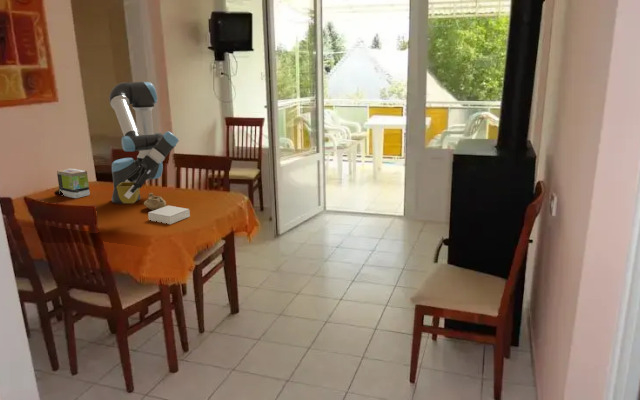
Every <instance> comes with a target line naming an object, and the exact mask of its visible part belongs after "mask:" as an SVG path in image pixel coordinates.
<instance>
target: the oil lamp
mask: <svg viewBox="0 0 640 400" xmlns="http://www.w3.org/2000/svg"><path fill="white" fill-rule="evenodd" d="M143 205H144V206H145V207H146V208H147V209H149V210H151V211H154V210H157V209H160V208H162V207H165V206H167V202H166V200H165V199H164V198H162V196H159V195H154V193H153V192H150V193H148V197H147V199H146V200H145V201H144V202H143Z"/></svg>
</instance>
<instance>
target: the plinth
mask: <svg viewBox="0 0 640 400" xmlns="http://www.w3.org/2000/svg"><path fill="white" fill-rule="evenodd" d="M190 212H191V211H190V208H185V207H178V206H175V205H174V206H173V205H166V206H165V207H162V208H160V209H157V210H151V211H149V212H147V215H148V220H149V221H150V220H151V221H150V222H156V221H157V223H161V222H162V223H161V224H166V223H167V224H166V225H172V224H175V223H177V222H180V221H183V220H185V219H187V218H190V217H191V213H190Z"/></svg>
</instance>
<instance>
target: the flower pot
mask: <svg viewBox="0 0 640 400" xmlns="http://www.w3.org/2000/svg"><path fill="white" fill-rule="evenodd" d="M133 183H135V182H122V183H120V184H119V185H118V186H117V191H118V195H119V198H120V200H121V201H122V202H123V203H126V204H134V203H136V202H135V201H137V199H138V196H139V194H140V190H141V188H138V189H137V190H136V191H135V192H134V194H133V195H132V196H131V197H130V198H129V199H128V198H127V197H125V196H124V195H125V193H126V192H127V191H128V190H129V189H130V188H131V186H132V185H133ZM137 202H138V201H137Z"/></svg>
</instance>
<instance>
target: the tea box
mask: <svg viewBox="0 0 640 400" xmlns="http://www.w3.org/2000/svg"><path fill="white" fill-rule="evenodd" d="M56 173H57V175H56V176H57V182H58V190H59V192H60V191H61V192H62V193H63V195H64V197H68V198H72V199H78V198H82V197H87V196H90V195H91V194H90V185H89V178H88V170H84V169H78V168H73V167H72V168H66V169H61V170H60V169H59V170H57V171H56ZM63 195H62V196H63Z"/></svg>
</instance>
